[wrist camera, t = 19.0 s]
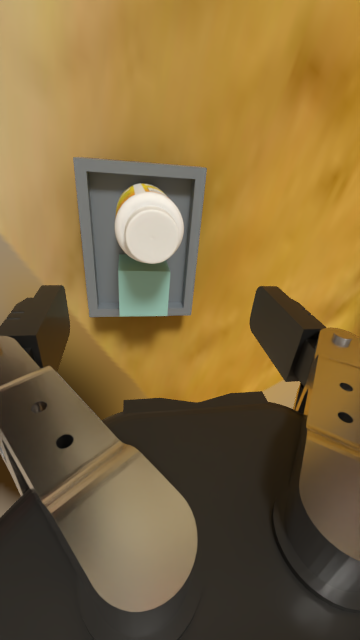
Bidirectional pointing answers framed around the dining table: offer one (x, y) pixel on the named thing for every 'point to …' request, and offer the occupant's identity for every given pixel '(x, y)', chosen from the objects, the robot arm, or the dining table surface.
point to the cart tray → (99, 226)
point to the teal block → (143, 287)
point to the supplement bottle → (148, 224)
